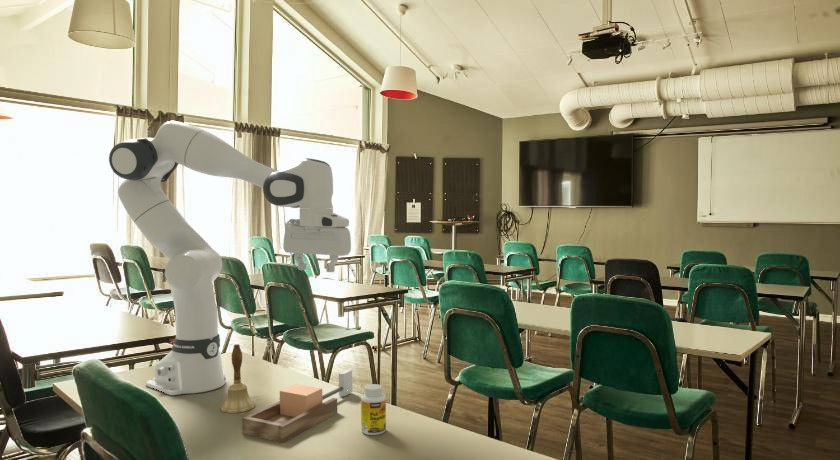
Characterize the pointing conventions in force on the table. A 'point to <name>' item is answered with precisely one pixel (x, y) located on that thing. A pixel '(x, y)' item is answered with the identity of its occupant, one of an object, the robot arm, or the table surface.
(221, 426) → the table surface
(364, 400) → the supplement bottle
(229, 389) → the hand bell
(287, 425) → the shelf lane
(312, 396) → the pull block
